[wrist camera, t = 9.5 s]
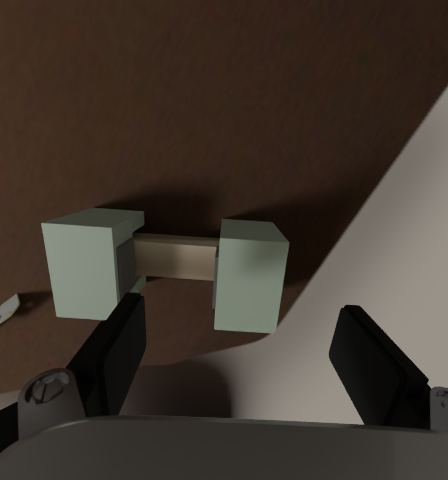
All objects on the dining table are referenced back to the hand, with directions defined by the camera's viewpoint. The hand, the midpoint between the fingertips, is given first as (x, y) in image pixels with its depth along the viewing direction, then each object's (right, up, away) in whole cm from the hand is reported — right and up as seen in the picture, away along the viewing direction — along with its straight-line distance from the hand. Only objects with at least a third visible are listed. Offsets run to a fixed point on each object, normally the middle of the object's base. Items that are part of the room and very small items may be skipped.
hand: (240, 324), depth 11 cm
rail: (-4, +3, +11) cm, 12 cm away
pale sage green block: (+1, +2, +11) cm, 11 cm away
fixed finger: (-10, +3, +11) cm, 15 cm away
